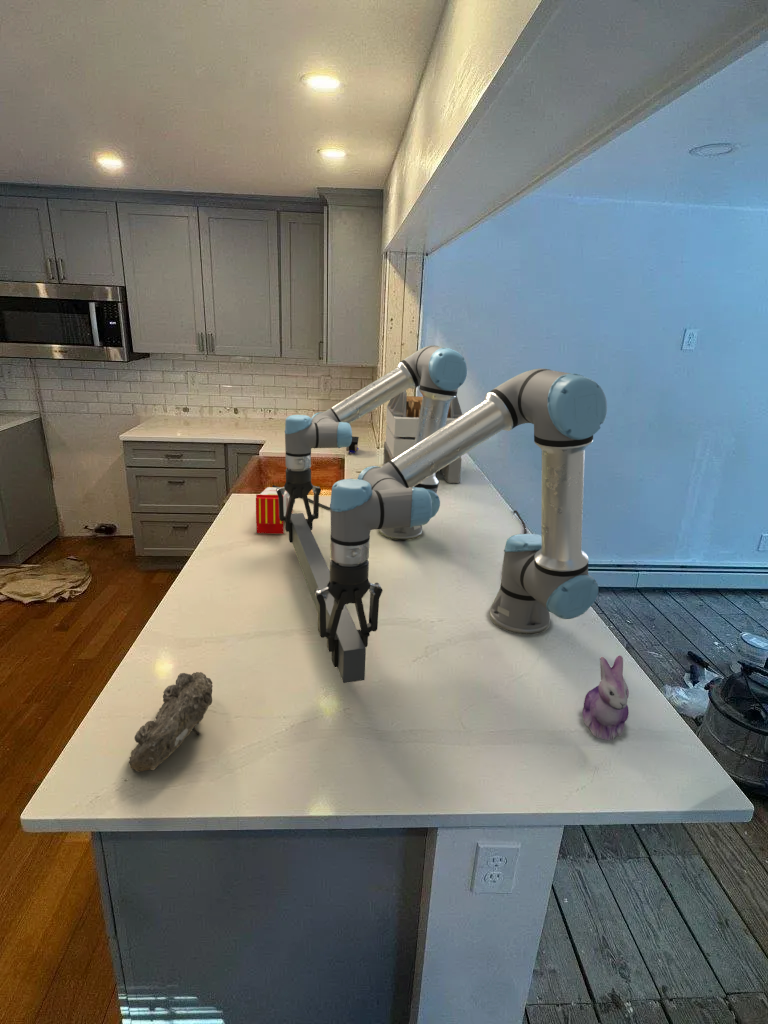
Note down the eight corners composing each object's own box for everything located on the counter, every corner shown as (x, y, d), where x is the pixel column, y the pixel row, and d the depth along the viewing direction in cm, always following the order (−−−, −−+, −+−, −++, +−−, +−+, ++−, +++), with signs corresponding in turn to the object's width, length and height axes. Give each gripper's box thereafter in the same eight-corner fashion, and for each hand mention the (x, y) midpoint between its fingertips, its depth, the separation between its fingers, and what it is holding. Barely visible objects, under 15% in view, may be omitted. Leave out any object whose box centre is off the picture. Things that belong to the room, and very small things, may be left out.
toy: (297, 482, 219) (286, 496, 190) (297, 516, 222) (286, 535, 193) (265, 481, 219) (249, 495, 189) (265, 515, 221) (250, 534, 192)
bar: (289, 535, 181) (289, 513, 179) (303, 534, 183) (302, 512, 180) (342, 683, 112) (343, 651, 109) (364, 680, 113) (365, 648, 110)
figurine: (608, 750, 104) (623, 681, 99) (567, 715, 113) (579, 651, 107) (643, 734, 108) (659, 668, 103) (601, 702, 117) (614, 640, 112)
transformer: (382, 463, 289) (386, 382, 275) (445, 464, 293) (451, 384, 279) (390, 482, 257) (394, 392, 243) (460, 483, 261) (468, 394, 247)
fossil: (162, 673, 113) (214, 640, 108) (196, 704, 116) (248, 673, 111) (102, 765, 93) (163, 730, 88) (145, 799, 96) (206, 767, 91)
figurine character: (358, 457, 303) (358, 448, 316) (358, 444, 299) (359, 435, 313) (345, 457, 302) (346, 447, 316) (345, 443, 299) (347, 434, 313)
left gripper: (269, 472, 163) (271, 547, 171) (329, 470, 168) (329, 542, 176) (267, 465, 169) (269, 537, 177) (325, 463, 174) (324, 533, 182)
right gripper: (307, 571, 104) (307, 678, 112) (398, 563, 109) (392, 666, 117) (301, 554, 110) (302, 657, 118) (387, 548, 115) (382, 646, 123)
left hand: (299, 540), depth 177 cm, fingers closed on bar, 4 cm apart
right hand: (347, 661), depth 117 cm, fingers closed on bar, 4 cm apart
